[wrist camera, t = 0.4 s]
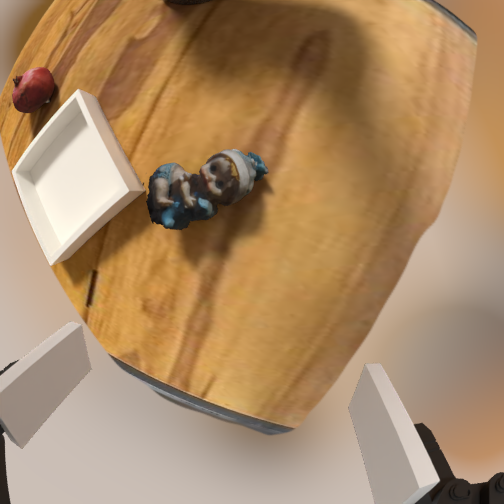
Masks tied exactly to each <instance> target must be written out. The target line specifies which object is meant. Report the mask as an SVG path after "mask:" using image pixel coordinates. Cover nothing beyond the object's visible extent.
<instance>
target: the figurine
mask: <svg viewBox="0 0 504 504" xmlns="http://www.w3.org/2000/svg"><path fill="white" fill-rule="evenodd" d="M267 172H268V168H267V167H266V166H265V163H264V162H263V161H262V160H261V157H260V156H258V155H256V154H254V153H252V152H249V153H248V155H247V156H245V155H244V154H243V153H242V152H241V151H239V150H237V149H232V150H223V151H221V152H220V153H217V154H215V155H213V156H212V157H210V158H209V159H208V160H207V162H206V164H205V165H203V166H202V167H201V169H200V171H199V173H200V175H197V174H191V173H187V172H185V170H184V169H183V168H182V167H181V166H180V165H179V164H176V163H170V164H165V165H162V166H160V167H159V168H158V169H157V170H156V171H155V172H154V174H153V176H151V177H150V179H149V181H150V182H149V186H148V188H149V191H150V192H149V194H148V195H147V196H148V199H147V201H146V202H147V205H148V210H149V214H150V218H151V221H152V223H153V222H155V223H156V224H161V225H164V226H163V227H164V228H166V229H168V228H169V229H176V230H182V229H184V228H187V227H188V225H189V223H190V221H195V220H208V219H209V218H211V217H213V216H214V215H215V214H217V211H218V208H217V205H218V204H222V205H224V206H228V205H231V204H234V203H236V202H238V201H240V200H241V199H242V198H243V197H244V196H246V195H247V194H248V193H249V192H250V191H251V190H252V188H253V185H254V180H255V181H257V180H261V179H262V178H263V176H264V174H267ZM143 185H144V182H143ZM153 224H154V223H153Z"/></svg>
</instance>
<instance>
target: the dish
mask: <svg viewBox="0 0 504 504" xmlns="http://www.w3.org/2000/svg"><path fill="white" fill-rule="evenodd" d="M12 174H13V177H14V180H15V183H16V186H17V189H18V192H19V195H20V198H21V201H22V203H23V206H24V209H25V211H26V214H27V216H28V219H29V221H30V223H31V226H32V228H33V230H34V233H35V235H36V237H37V239H38V242H39V244H40V246H41V248H42V250H43V252H44V254H45V256H46V258H47V260H48V262H49V264H50V266H52V265H55V264H57V263H60V262H62V261H65V260H67V259H69V258H70V257H71V256H72V255H73V254H74V253H75V252H76V251H77V250H78V249H79V248H80V247H81V246H82V245H83V244H84V243H85V242H86V241H87V240H89V239H90V238H91V237H92V236H93V235H94V234H95V233H96V232H97V231H98V230H99V229H101V228H102V227H103V226H104V225H105V224H106V223H107V222H108V221H110V220H111V219H112V218H113V217H114V216H115V215H117V214H118V213H119V212H120V211H121V210H122V209H124V208H125V207H126V206H127V205H128V204H130V203H131V202H132V201H133V200H135V199H136V198H137V197H138V196H140V195H141V194H142V193H143V192H145V191H146V190H145V188H144V187H143V185H142V183H141V182H140V180H139V178H138V176H137V174H136V173H135V171H134V169H133V167H132V166H131V164H130V162H129V160H128V158H127V157H126V155H125V153H124V151H123V149H122V147H121V145H120V144H119V142H118V140H117V138H116V136H115V134H114V132H113V130H112V128H111V126H110V125H109V123H108V121H107V119H106V117H105V115H104V113H103V111H102V109H101V107H100V105H99V103H98V101H97V99H96V97H95V96H93V95H91V94H89V93H87V92H85V91H82V90H80V89H78V90H77V91H76V92H75V93H74V94H73V95H72V96H71V97H70V98H69V99H68V100H67V101H66V102H65V103H64V104H63V105H62V106H61V108H60V109H59V110H58V111H57V112H56V113H55V114H54V115H53V117H52V118H51V119H50V120H49V121H48V122H47V124H46V125H45V126H44V127H43V129H42V130H41V131H40V132H39V134H38V135H37V136H36V137H35V139H34V140H33V141H32V143H31V144H30V145H29V147H28V148H27V149H26V151H25V152H24V154H23V155H22V157H21V158H20V159H19V161H18V162H17V164H16V165H15V167H14V168H13V170H12Z"/></svg>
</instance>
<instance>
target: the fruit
mask: <svg viewBox="0 0 504 504" xmlns="http://www.w3.org/2000/svg"><path fill="white" fill-rule="evenodd" d="M13 81H14V83H15V88H14V91H13V95H12V98H13V103H14V106H15V108H16V109H17V110H18V111H20V112H23V113H31V112H34V111H36V110H37V109H38V108H40V107H41V106H42V105H43V104H44V103H48V102H50V97H51V95H52V93H53V90H54V79H53V76H52V74H51V73H50V71H49V70H48V69H47V68H44V67H36V68H32V69H30V70H28V71H27V72H26V73H25V74H23V76H18V77H17V76H16V79H13Z"/></svg>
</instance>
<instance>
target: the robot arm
mask: <svg viewBox="0 0 504 504" xmlns="http://www.w3.org/2000/svg"><path fill="white" fill-rule="evenodd" d="M167 1H169V2H172V3H176V4H197V3H202V2H207V1H210V0H167ZM91 369H92V368H91V365H90V361H89V357H88V352H87V348H86V344H85V339H84V334H83V329H82V325H81V324H78V323H75V322H72V321H70V322H69V323H67V324H66V325H64V326H63V327H62V328H60V329H59V330H58V331H57V332H55V333H54V334H52V335H51V336H50V337H48V338H47V339H46V340H45V341H43V342H42V343H41V344H39V345H38V346H37V347H35V348H34V349H33V350H32V351H30V352H29V353H28V354H26V355H25V356H24V357H23V358H21V359H20V360H17V361H15V362H13V363H10V364H9V365H8V366H7V367H5V368H4V370H2V371H0V504H11V503H10V498H9V491H8V484H7V476H6V462H5V440H4V436H3V435H2V434H3V433H4V432H6V434H7V435H8V437H9V438H10V440H11V441H12V442H14V443H15V444H16V445H17V446H19V447H20V448H21V449H23V448H24V446H25V445H26V444H27V443H28V441H29V440H30V439H31V438H32V437H33V435H34V434H35V433H36V432H37V431H38V429H39V428H40V427H41V426H42V425H43V423H44V422H45V421H46V420H47V419H48V418H49V416H50V415H51V414H52V413H53V412H54V411H55V410H56V408H57V407H58V406H59V405H60V404H61V403H62V401H63V400H64V399H65V398H66V397H67V396H68V395H69V394H70V392H71V391H72V390H73V389H74V388H75V387H76V386H77V385H78V384H79V383H80V381H81V380H82V379H83V378H84V377H85V376H86V375H87V374H88V372H90V370H91ZM348 408H349V412H350V415H351V418H352V422H353V425H354V428H355V432H356V435H357V439H358V442H359V446H360V449H361V453H362V456H363V460H364V464H365V468H366V471H367V475H368V479H369V483H370V486H371V491H372V495H373V499H374V503H375V504H504V473H503V472H500V473H497V474H495V475H494V476H493V477H492V478H491V479H490V480H489V481H488V482H484V483H477V484H470V483H468V481H466V480H464V479H457V478H455V476H454V475H453V473H452V471H451V469H450V466H449V464H448V462H447V460H446V458H445V457H444V454H443V453H442V451H441V450H440V447H439V445H438V443H437V442H436V439H435V437H434V435H433V434H432V432H431V430H430V429H428V428H427V427H426V426H425V425H424V424H423V423H420V424H414V425H413V423H412V421H411V419H410V417H409V415H408V413H407V411H406V409H405V407H404V405H403V403H402V402H401V400H400V398H399V396H398V394H397V392H396V390H395V389H394V387H393V385H392V383H391V382H390V379H389V378H388V376H387V374H386V372H385V371H384V369H383V367H382V365H381V363H371V364H369V363H366V364H365V365H364V368H363V371H362V374H361V377H360V379H359V382H358V385H357V387H356V390H355V392H354V395H353V398H352V400H351V403H350V405H349V407H348Z"/></svg>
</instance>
